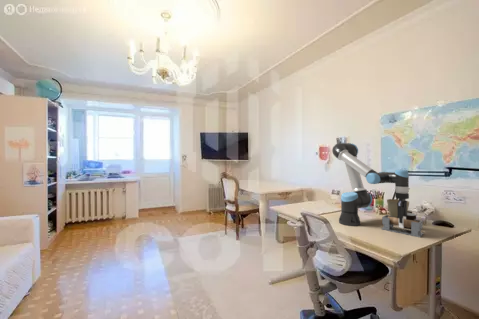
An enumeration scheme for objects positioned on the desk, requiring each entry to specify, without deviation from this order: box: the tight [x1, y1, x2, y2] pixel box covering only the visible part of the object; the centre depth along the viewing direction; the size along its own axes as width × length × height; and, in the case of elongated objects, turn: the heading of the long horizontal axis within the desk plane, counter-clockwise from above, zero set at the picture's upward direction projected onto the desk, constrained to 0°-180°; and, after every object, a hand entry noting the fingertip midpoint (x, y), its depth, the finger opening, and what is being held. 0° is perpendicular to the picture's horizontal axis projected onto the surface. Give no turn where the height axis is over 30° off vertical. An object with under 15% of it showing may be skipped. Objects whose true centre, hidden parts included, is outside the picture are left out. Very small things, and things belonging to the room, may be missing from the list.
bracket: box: [381, 214, 424, 238], centre depth 159 cm, size 22×8×9 cm, turn 41°
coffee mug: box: [403, 212, 417, 230], centre depth 169 cm, size 12×9×10 cm
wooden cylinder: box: [388, 217, 419, 228], centre depth 158 cm, size 17×5×5 cm, turn 41°
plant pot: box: [386, 198, 410, 218], centre depth 186 cm, size 15×15×16 cm
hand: (402, 226), depth 158 cm, fingers closed on wooden cylinder, 5 cm apart
